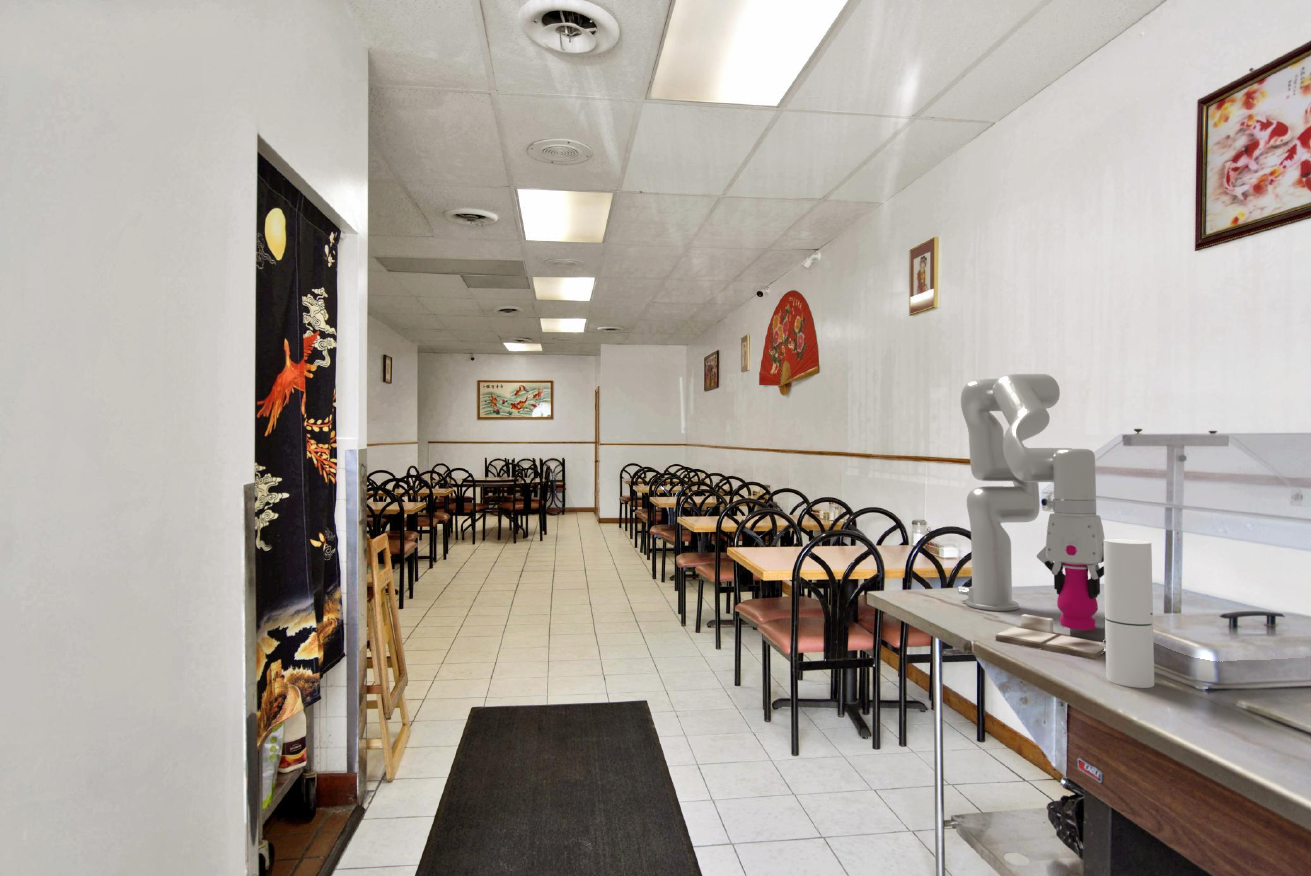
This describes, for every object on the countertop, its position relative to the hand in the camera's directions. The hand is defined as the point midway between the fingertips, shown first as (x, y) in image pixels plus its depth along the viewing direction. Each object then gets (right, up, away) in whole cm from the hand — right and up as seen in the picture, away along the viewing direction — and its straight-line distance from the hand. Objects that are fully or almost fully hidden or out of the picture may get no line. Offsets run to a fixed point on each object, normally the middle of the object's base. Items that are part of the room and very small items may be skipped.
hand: (1076, 594), depth 145 cm
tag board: (-3, -11, +4) cm, 12 cm away
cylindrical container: (-2, -11, -20) cm, 23 cm away
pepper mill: (0, -7, 0) cm, 7 cm away
